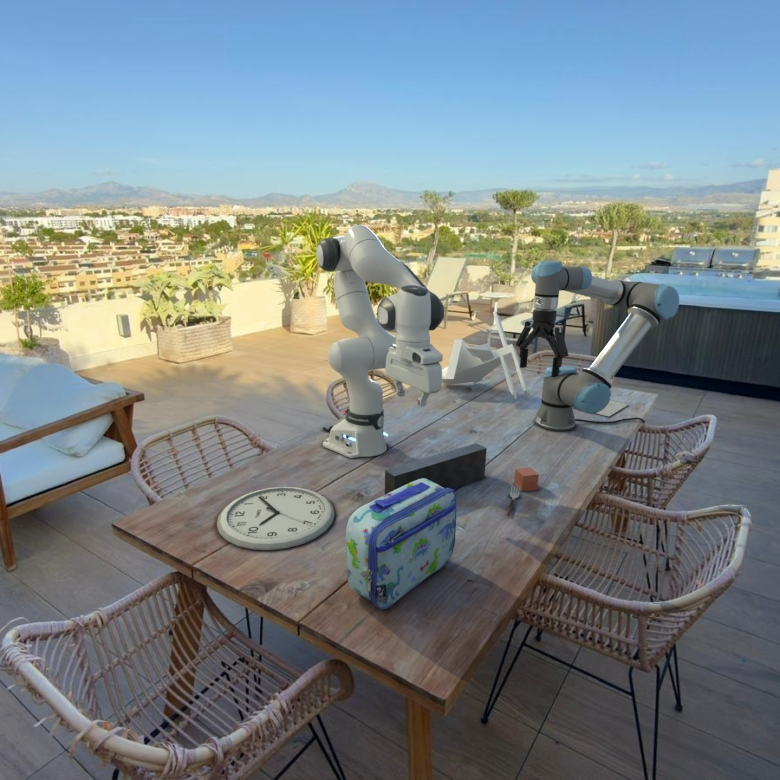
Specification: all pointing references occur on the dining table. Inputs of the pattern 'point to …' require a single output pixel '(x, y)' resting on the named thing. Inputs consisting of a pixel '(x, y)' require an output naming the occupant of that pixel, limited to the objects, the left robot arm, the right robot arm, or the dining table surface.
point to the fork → (513, 495)
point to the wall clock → (275, 518)
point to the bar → (441, 469)
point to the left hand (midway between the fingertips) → (410, 400)
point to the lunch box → (400, 540)
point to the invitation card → (612, 408)
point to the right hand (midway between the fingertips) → (538, 371)
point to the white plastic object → (482, 362)
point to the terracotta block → (526, 479)
